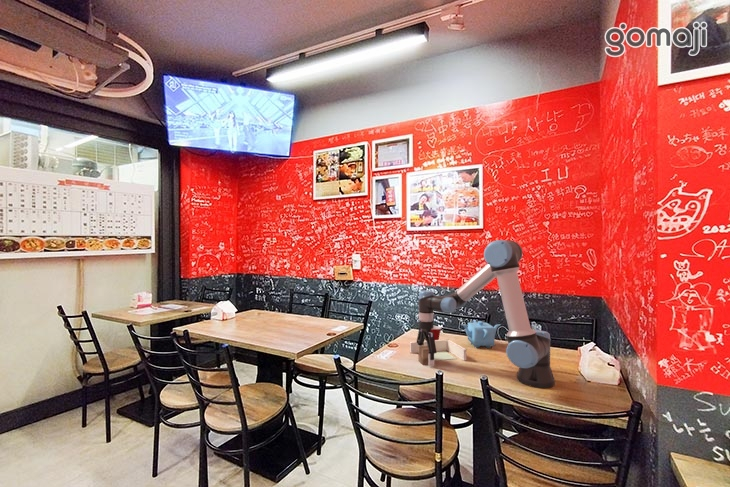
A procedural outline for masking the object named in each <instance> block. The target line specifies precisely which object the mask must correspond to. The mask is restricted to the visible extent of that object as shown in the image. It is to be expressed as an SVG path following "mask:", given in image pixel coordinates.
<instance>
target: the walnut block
mask: <svg viewBox="0 0 730 487" xmlns="http://www.w3.org/2000/svg"><path fill="white" fill-rule="evenodd" d="M428 353H429V349H428V345H427V346H418V353H417V354H418V358H417V359H418V360H417V361H418V362H419V363H420V364H421V365H422V366H429V354H428Z"/></svg>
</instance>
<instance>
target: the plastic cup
mask: <svg viewBox="0 0 730 487" xmlns="http://www.w3.org/2000/svg"><path fill="white" fill-rule="evenodd" d="M441 330H442V327H441V326H437V325H433V329H431V333H434V340H440V334H441Z"/></svg>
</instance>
